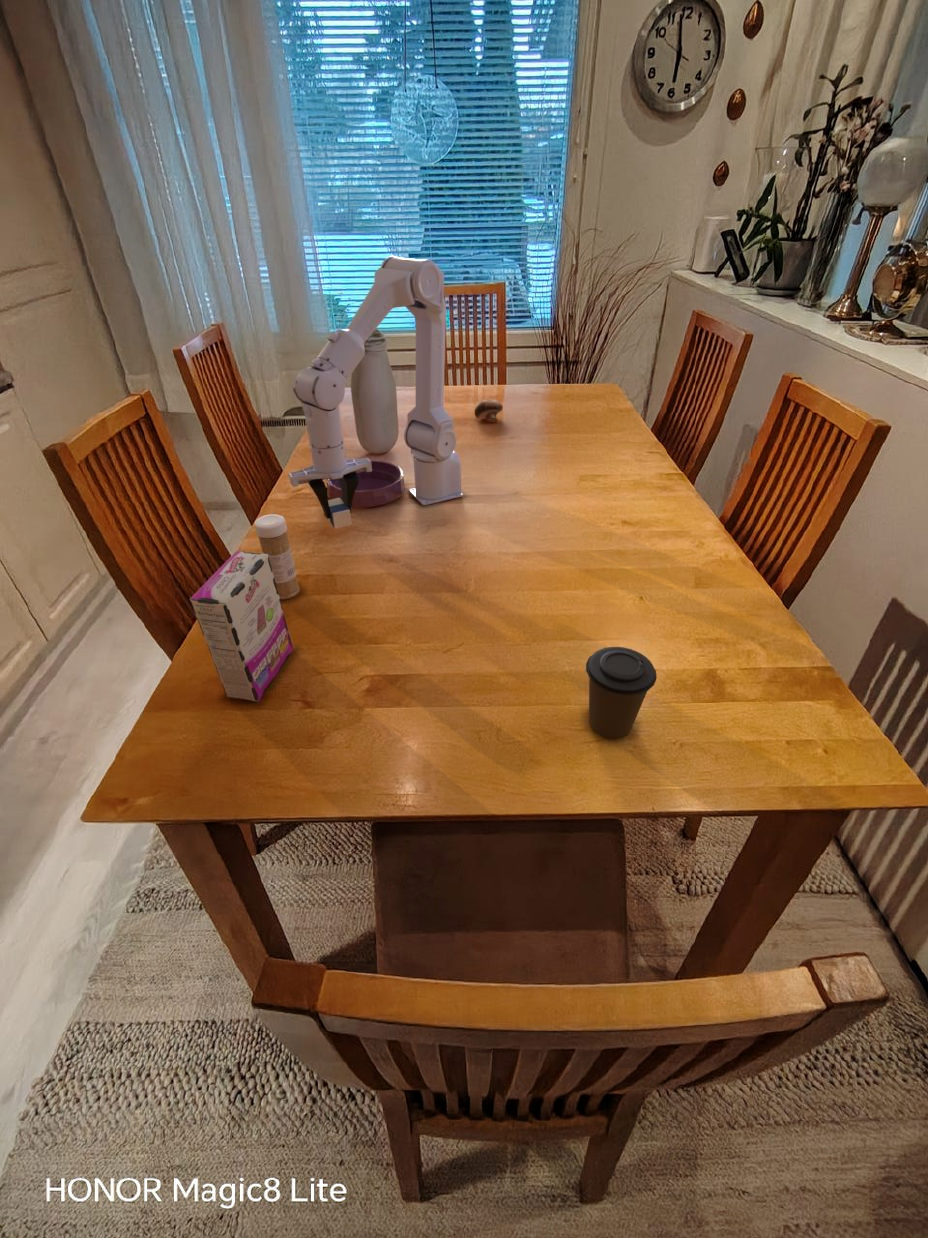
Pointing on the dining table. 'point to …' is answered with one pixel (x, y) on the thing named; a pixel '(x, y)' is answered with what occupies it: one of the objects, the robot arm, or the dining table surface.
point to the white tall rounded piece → (375, 397)
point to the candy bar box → (243, 624)
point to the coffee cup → (617, 689)
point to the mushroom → (488, 410)
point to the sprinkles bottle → (278, 553)
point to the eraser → (339, 513)
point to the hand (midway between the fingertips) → (337, 514)
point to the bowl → (373, 485)
